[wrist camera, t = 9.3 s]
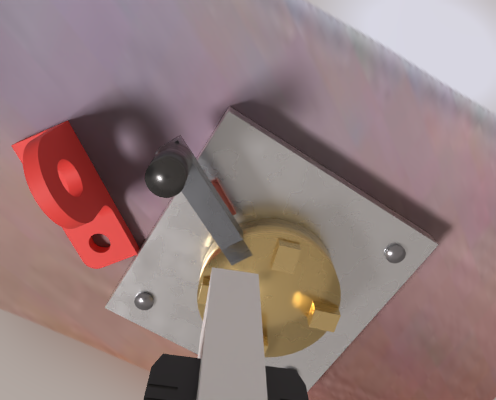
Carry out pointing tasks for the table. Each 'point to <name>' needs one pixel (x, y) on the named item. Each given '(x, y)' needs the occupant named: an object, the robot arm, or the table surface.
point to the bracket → (74, 195)
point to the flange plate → (276, 207)
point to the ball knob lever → (256, 256)
